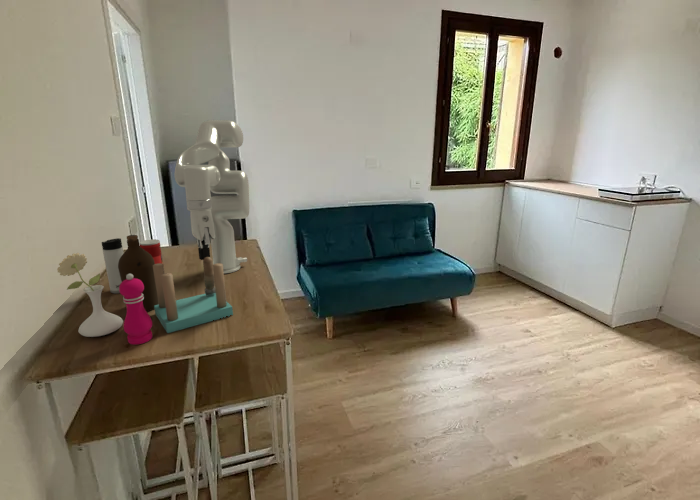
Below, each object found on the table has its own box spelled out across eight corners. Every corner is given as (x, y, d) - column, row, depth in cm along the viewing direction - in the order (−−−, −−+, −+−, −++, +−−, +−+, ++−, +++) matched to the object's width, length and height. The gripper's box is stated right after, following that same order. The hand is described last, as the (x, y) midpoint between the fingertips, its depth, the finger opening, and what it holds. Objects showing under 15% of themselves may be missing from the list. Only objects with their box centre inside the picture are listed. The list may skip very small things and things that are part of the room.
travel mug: (122, 294, 143) (112, 241, 137) (106, 293, 144) (96, 240, 138) (134, 288, 149) (125, 237, 143) (119, 286, 150) (110, 236, 144)
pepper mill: (133, 333, 116) (121, 269, 110) (158, 332, 116) (148, 269, 110) (121, 346, 109) (108, 278, 103) (148, 345, 109) (137, 278, 103)
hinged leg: (213, 291, 137) (210, 254, 132) (216, 294, 135) (213, 257, 130) (204, 293, 135) (201, 256, 130) (207, 296, 133) (204, 259, 128)
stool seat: (216, 298, 139) (211, 253, 134) (233, 315, 127) (228, 265, 122) (155, 313, 128) (147, 264, 123) (167, 333, 116) (159, 279, 111)
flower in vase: (117, 318, 125) (103, 243, 117) (129, 331, 117) (114, 251, 110) (69, 332, 116) (50, 252, 109) (77, 347, 108) (58, 261, 101)
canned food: (166, 264, 175) (163, 240, 172) (149, 269, 169) (145, 245, 166) (156, 261, 179) (153, 238, 176) (139, 266, 173) (135, 242, 170)
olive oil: (167, 303, 136) (157, 233, 128) (142, 316, 126) (129, 241, 119) (145, 298, 139) (134, 230, 132) (118, 311, 130) (104, 238, 123)
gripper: (218, 206, 124) (223, 261, 129) (203, 201, 136) (208, 252, 140) (194, 208, 120) (200, 266, 124) (181, 203, 131) (186, 256, 136)
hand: (204, 258), depth 132 cm, fingers closed
